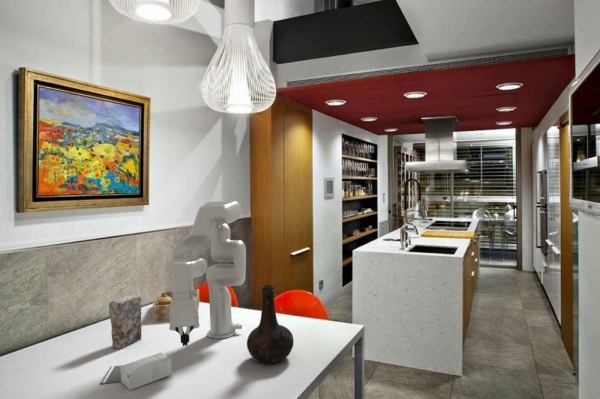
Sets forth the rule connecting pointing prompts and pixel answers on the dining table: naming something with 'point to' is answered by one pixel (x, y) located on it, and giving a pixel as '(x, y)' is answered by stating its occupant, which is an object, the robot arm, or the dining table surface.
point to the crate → (164, 307)
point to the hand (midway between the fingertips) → (185, 344)
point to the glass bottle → (269, 333)
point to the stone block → (125, 321)
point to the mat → (112, 375)
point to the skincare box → (145, 370)
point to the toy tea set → (164, 300)
